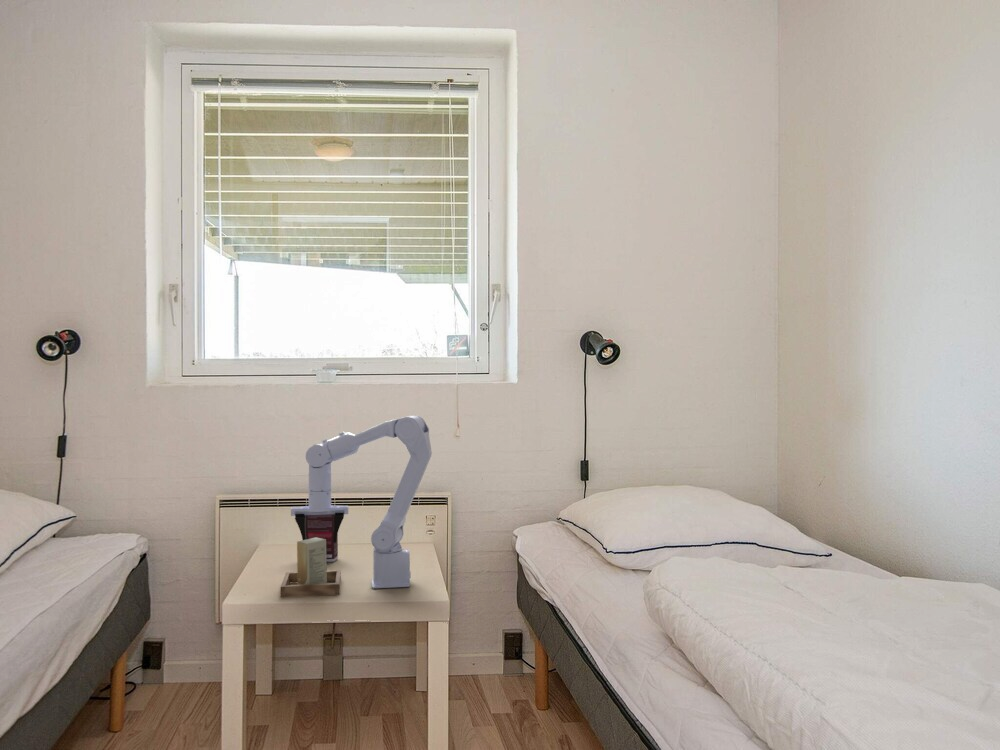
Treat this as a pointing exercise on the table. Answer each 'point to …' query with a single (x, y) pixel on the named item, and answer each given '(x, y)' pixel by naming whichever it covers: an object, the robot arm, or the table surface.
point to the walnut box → (310, 585)
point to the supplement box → (323, 532)
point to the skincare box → (311, 561)
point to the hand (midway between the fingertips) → (319, 542)
